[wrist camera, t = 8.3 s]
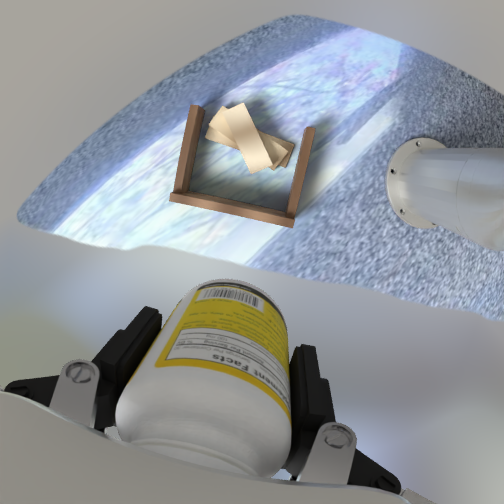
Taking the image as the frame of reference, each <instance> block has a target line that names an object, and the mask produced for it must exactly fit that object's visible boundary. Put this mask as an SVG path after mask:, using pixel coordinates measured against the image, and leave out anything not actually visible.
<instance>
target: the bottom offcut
mask: <svg viewBox="0 0 504 504" xmlns="http://www.w3.org/2000/svg"><path fill="white" fill-rule="evenodd" d="M213 118H214V116H213ZM213 118H212V119H213ZM262 133H263V132H262ZM264 134H265V135H267V136H268V137H269V138H271V139H272V140H273V141H275V142H276V143H278V144H279V145H280V146H282V147H283V148H284V149H286V150H287V151H288V153H287V154H286V155H285V156H284V158H283V159H282V160H281V162H280V163H279V164H278V165H280V166H282V167H286V165H287V162H288V160H289V157H290V155H291V152H292V150H293V147H294V144H292V143H289V142H287V141H284V140H281V139H279V138H276V137H274V136H271V135H268V134H266V133H264ZM205 138H206V139H209V140H212V141H215V142H217V143H220V144H223V145H226V146H229V147H232V148H235V149H237V150H240V149H239V147H238V145H237V144H236V143H235V142H233V141H232V140H230V139H229V138H227V137H226V136H224V135H223V134H222V133H220V132H219V131H217V130H216V129H214V128H213V127H211V126H209V128H208V131H207V133H206V136H205Z"/></svg>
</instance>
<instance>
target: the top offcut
mask: <svg viewBox="0 0 504 504" xmlns="http://www.w3.org/2000/svg"><path fill="white" fill-rule="evenodd" d="M222 113H223V115H224V117H225V120H226V122H227V124H228V126H229V128H230V130H231V132H232V134H233V136H234V139H235V141H236V143H237V145H238V147H239V149H240V151H241V154H242V156H243V158H244V160H245V162H246V164H247V167H248V169H249V171H250V173H251V174H253V173H255V172H258V171H260V170H262V169H265V168H267V167H269V166H272V165H273V164H272V162H271V159H270V157H269V155H268V153H267V151H266V149H265V146H264V144H263V142H262V140H261V138H260V136H259V134H258V131H257V129H256V127H255V125H254V123H253V121H252V119H251V117H250V115H249V113H248V111H247V109H246V106H245V104H244V103H241V104H239V105H237V106H235V107H232V108H230V109H228V110H226V111H224V112H222Z"/></svg>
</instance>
